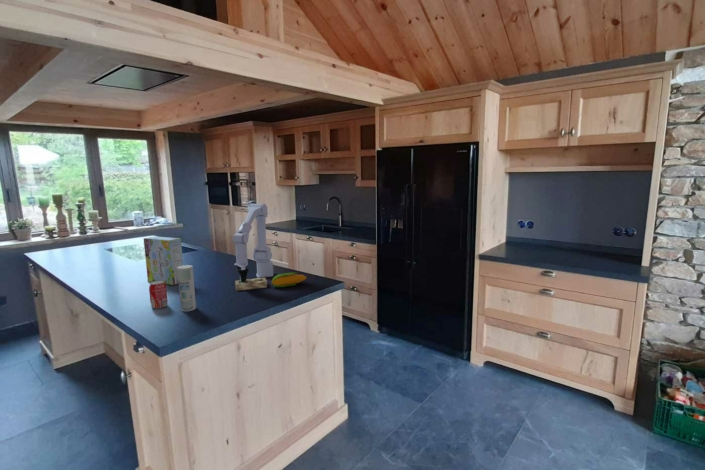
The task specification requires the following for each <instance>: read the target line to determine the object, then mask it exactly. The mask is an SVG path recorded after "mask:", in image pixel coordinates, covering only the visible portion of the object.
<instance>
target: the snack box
mask: <svg viewBox="0 0 705 470" xmlns="http://www.w3.org/2000/svg"><path fill="white" fill-rule="evenodd" d="M143 245H144V248H143V249H144V256H145V267H146V275H147V282H149V283H151V282H153V281H160V280H161V281H164V283H165V284H166V285H170V286H175V285H179V282H178V272H177V267H179V266H183V265H184V260H183V249H182V247H183V245H182V238H181V237H180V238H178V237H167V236H150V237H149V236H148V237H144V238H143Z"/></svg>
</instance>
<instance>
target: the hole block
mask: <svg viewBox="0 0 705 470" xmlns="http://www.w3.org/2000/svg"><path fill="white" fill-rule="evenodd" d="M234 283H235V291H246V290H255V289H265V288H268V280H267V279H266V277H259V278H257V277H256V278H248V279H247V278H246V283H240V279H238V280H235V282H234Z"/></svg>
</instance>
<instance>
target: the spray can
mask: <svg viewBox="0 0 705 470" xmlns="http://www.w3.org/2000/svg"><path fill="white" fill-rule="evenodd" d="M177 272H178V282H179V284H178V289H179V291H178V292H179V299H180V300H179V301H180V309H181V311H182V312H191V311H195V310H196V309H197V306H196V305H197V303H196V291H195V281H194V280H195V278H194V266H193V265H192V264H190V265H189V264H185V265H184V264H183V266H179V267H177Z"/></svg>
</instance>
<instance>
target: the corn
mask: <svg viewBox="0 0 705 470" xmlns="http://www.w3.org/2000/svg"><path fill="white" fill-rule="evenodd" d="M306 279H307V276H305V275H304V274H297V272H285V273H280V274H276V275H275V276H272V278H271V280H270V282H271V285H272V286H273V287H275V288H286V287H293V286H296V285H297V284H299V283H301V282H303V281H305V280H306Z"/></svg>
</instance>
